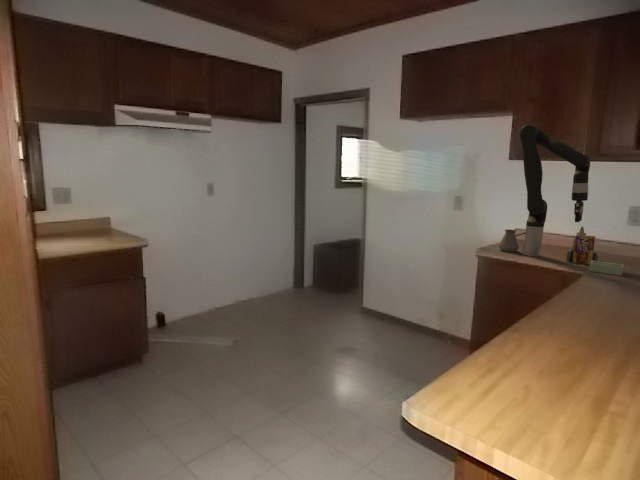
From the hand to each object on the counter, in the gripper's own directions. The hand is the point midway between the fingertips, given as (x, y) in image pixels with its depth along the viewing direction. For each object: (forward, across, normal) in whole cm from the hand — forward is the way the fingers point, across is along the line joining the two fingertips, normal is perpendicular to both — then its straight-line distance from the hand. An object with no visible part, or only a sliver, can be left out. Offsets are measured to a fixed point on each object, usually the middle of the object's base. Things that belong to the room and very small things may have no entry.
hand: (578, 221), depth 234 cm
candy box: (+23, +1, +3) cm, 23 cm away
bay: (+23, +1, +3) cm, 23 cm away
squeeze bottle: (+22, -16, -1) cm, 28 cm away
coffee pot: (+20, -5, -32) cm, 38 cm away
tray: (+23, +16, +15) cm, 32 cm away
